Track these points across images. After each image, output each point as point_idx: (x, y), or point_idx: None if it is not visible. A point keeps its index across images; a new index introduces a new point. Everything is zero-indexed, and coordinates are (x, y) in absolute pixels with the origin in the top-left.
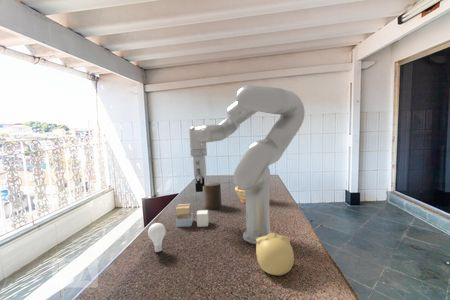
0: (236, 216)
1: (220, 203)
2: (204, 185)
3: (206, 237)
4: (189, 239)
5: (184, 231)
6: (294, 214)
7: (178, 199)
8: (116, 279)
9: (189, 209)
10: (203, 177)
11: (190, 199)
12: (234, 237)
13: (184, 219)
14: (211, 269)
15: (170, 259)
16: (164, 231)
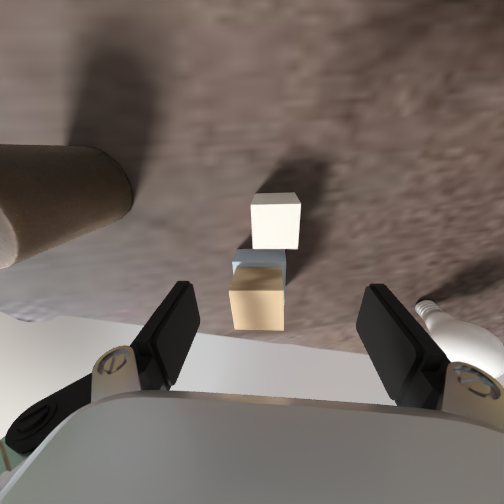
0: (199, 49)
1: (82, 149)
2: (187, 282)
3: (388, 189)
4: (382, 242)
5: (320, 263)
6: None
7: (63, 311)
8: None
9: (267, 282)
10: (135, 354)
11: (49, 278)
12: (439, 58)
13: (285, 279)
14: None
15: (480, 273)
16: (488, 333)
